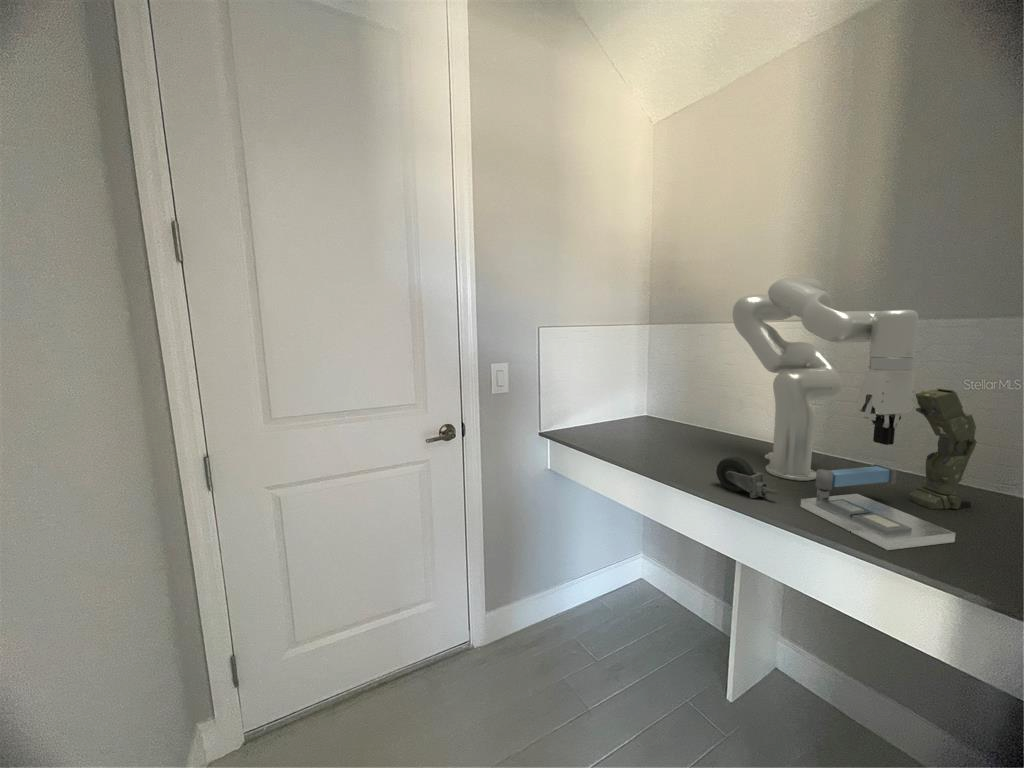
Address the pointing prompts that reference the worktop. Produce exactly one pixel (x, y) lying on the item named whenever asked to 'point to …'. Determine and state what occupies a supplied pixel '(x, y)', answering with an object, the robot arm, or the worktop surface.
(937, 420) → the mechanical leg
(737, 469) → the caster wheel
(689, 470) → the worktop surface
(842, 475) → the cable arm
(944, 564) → the worktop surface
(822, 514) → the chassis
